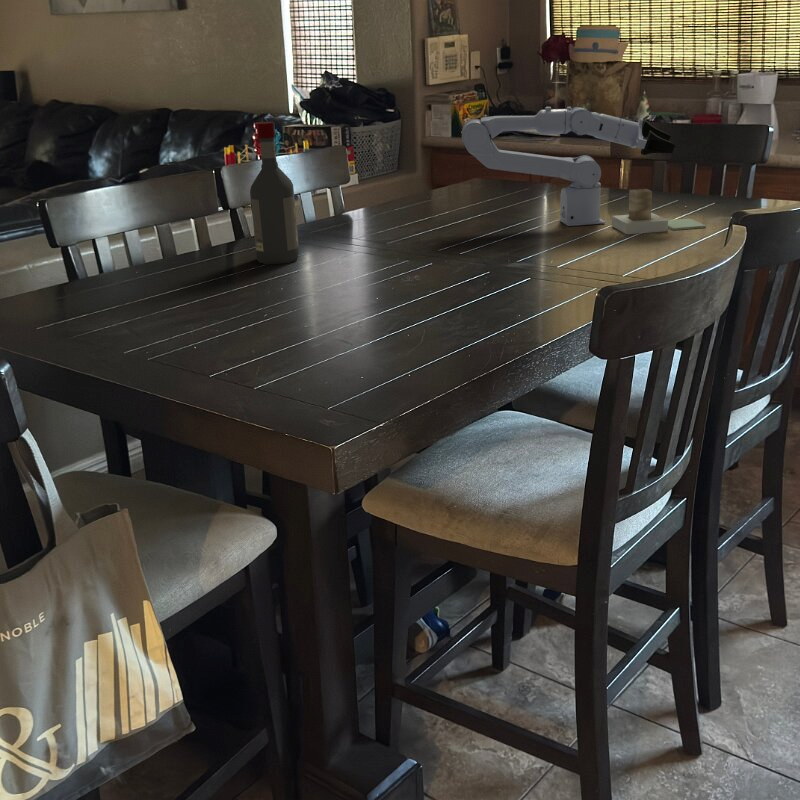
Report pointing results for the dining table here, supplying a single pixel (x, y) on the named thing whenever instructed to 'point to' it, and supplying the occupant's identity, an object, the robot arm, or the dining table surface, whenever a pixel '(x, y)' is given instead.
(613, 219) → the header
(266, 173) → the liquor
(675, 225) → the mat
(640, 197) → the plug
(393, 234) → the dining table surface
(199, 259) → the dining table surface
